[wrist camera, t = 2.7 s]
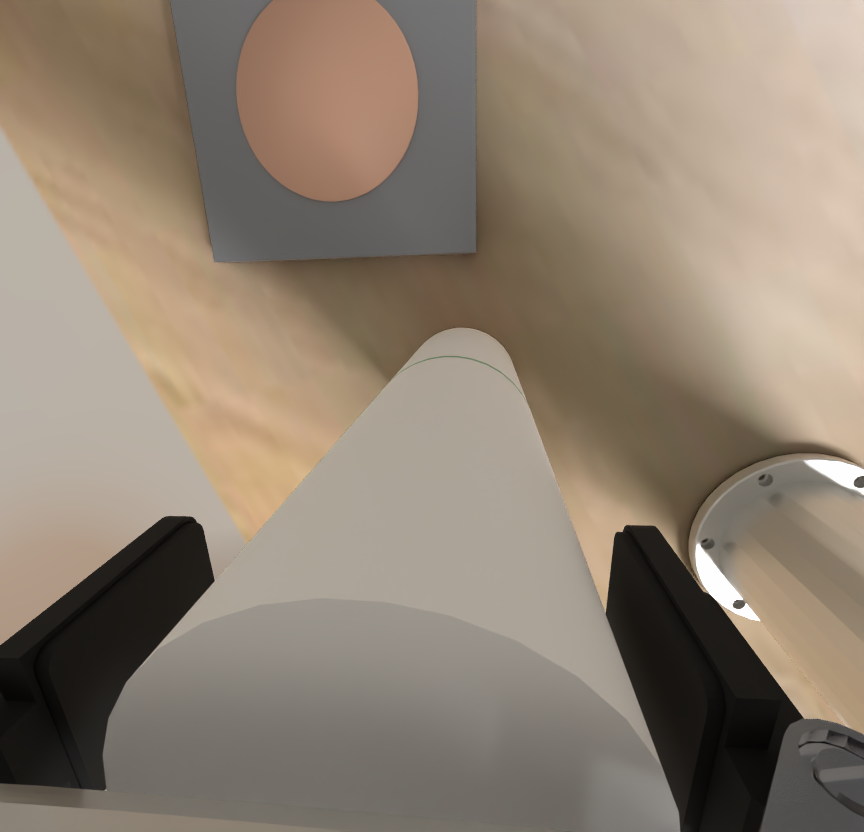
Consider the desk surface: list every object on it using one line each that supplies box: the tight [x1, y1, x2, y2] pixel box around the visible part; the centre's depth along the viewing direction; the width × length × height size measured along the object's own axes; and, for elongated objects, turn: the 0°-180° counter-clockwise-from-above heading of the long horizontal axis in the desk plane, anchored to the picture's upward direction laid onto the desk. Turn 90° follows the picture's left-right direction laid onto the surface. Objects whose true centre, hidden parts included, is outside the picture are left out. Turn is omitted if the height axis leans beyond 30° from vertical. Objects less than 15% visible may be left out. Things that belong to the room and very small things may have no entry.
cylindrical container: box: [103, 328, 680, 832], centre depth 17 cm, size 7×7×25 cm
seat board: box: [170, 0, 476, 263], centre depth 24 cm, size 16×16×2 cm
